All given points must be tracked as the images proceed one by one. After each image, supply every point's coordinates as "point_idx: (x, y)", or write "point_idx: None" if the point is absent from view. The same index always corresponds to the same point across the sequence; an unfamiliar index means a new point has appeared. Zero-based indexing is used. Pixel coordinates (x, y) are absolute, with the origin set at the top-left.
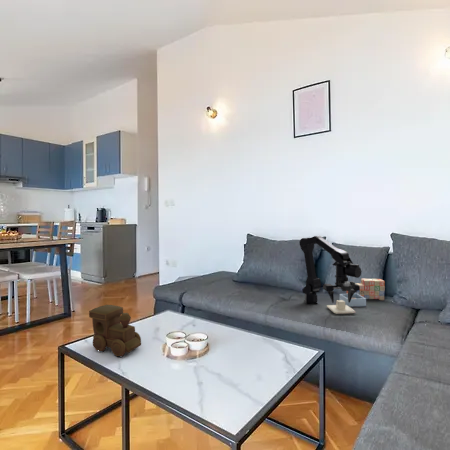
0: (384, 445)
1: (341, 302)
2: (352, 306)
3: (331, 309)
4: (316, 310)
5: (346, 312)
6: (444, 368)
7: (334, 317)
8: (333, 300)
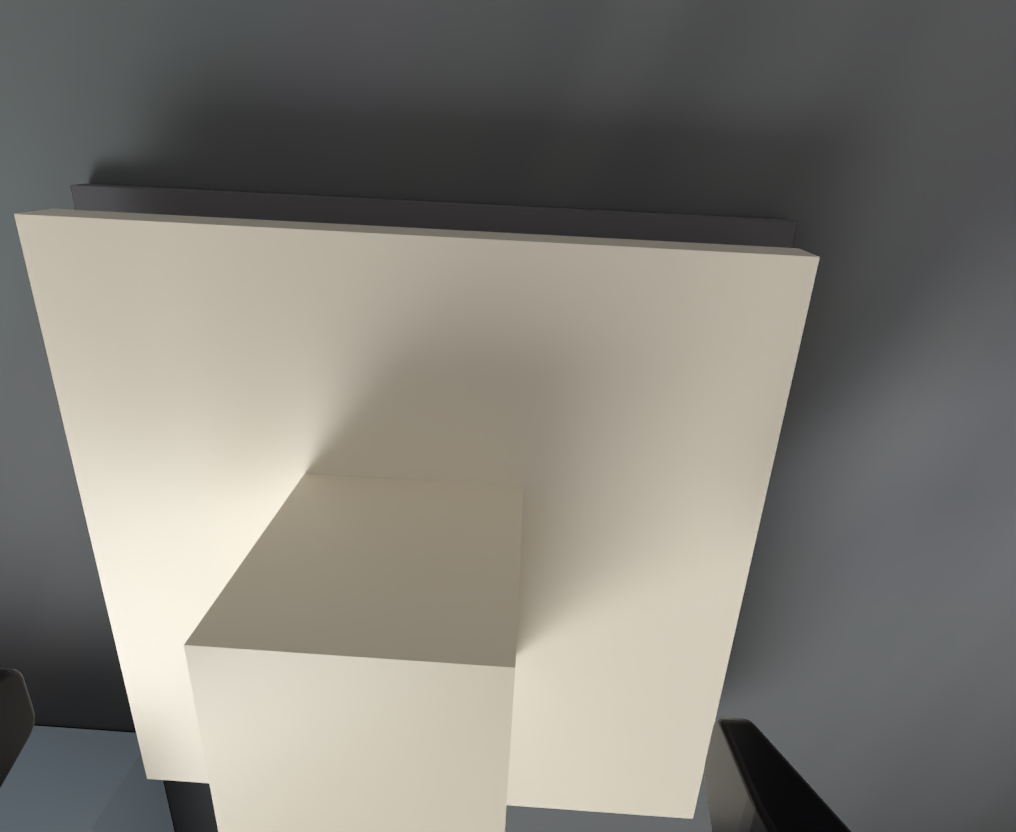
0: None
1: (390, 640)
2: None
3: (755, 524)
4: (976, 690)
5: (367, 228)
6: None
7: (860, 94)
8: (769, 807)
